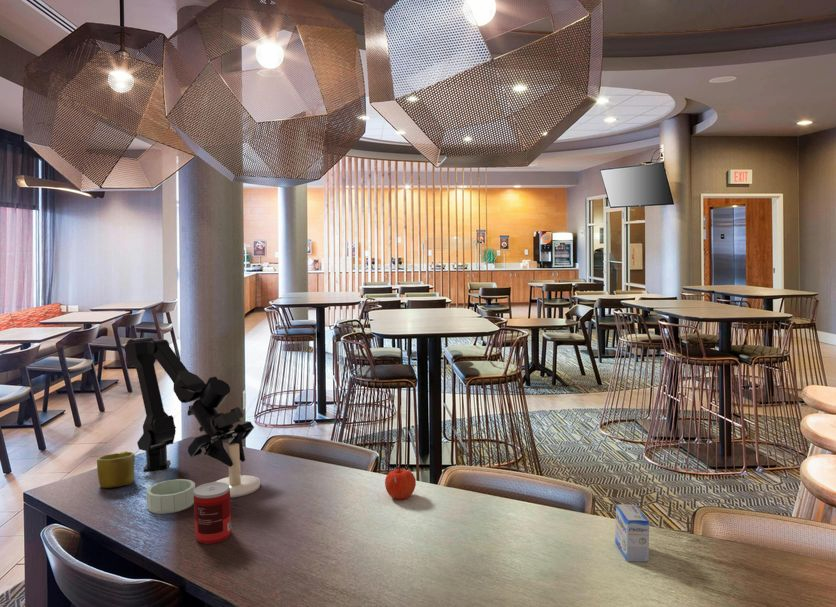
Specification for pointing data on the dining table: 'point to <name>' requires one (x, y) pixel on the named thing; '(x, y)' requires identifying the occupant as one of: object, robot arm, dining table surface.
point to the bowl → (170, 496)
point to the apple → (400, 483)
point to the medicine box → (632, 533)
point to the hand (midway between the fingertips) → (238, 463)
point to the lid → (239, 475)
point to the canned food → (212, 512)
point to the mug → (116, 469)
